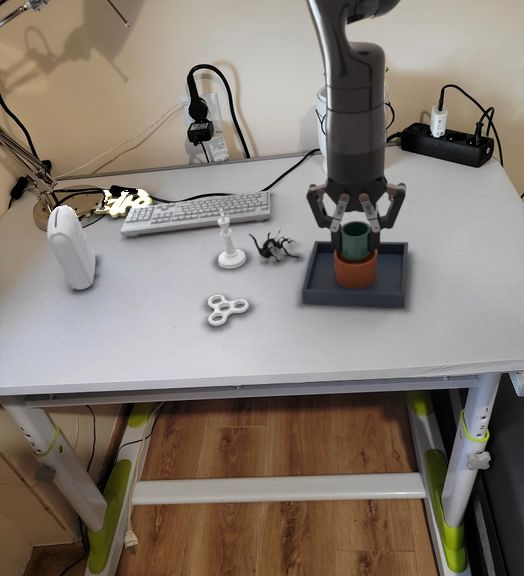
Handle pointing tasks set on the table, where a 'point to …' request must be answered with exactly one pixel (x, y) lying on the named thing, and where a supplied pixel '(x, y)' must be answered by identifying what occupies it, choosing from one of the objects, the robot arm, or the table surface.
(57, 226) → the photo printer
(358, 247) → the small bowl
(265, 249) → the creature
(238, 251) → the chess piece
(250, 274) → the table surface
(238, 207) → the keyboard
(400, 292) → the tray
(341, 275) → the big bowl
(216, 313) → the fidget spinner
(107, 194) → the lettering
